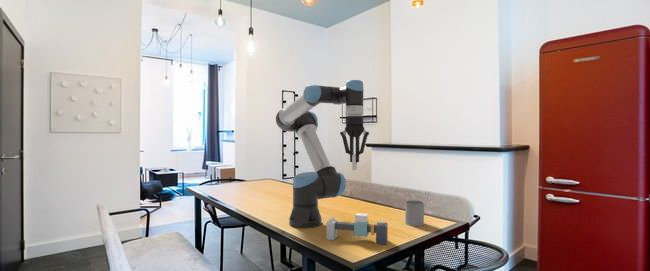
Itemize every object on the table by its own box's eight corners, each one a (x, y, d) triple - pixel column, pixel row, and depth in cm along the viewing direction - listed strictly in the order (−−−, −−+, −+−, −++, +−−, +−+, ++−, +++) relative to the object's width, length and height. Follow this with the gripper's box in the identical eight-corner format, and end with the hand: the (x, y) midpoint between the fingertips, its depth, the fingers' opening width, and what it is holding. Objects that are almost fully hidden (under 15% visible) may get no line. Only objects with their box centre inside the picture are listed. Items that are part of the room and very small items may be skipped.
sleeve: (353, 235, 125) (354, 215, 125) (356, 231, 130) (356, 212, 130) (366, 236, 123) (366, 216, 123) (368, 232, 128) (368, 213, 128)
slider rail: (326, 239, 127) (326, 219, 127) (330, 234, 133) (330, 215, 133) (386, 245, 121) (386, 224, 121) (387, 240, 127) (387, 220, 127)
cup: (424, 226, 144) (424, 204, 144) (405, 225, 146) (405, 203, 146) (422, 221, 153) (422, 200, 152) (405, 220, 154) (405, 200, 154)
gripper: (337, 115, 138) (337, 170, 138) (367, 115, 134) (367, 171, 134) (342, 116, 145) (342, 168, 145) (371, 116, 141) (370, 169, 141)
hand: (354, 169), depth 140 cm, fingers closed
